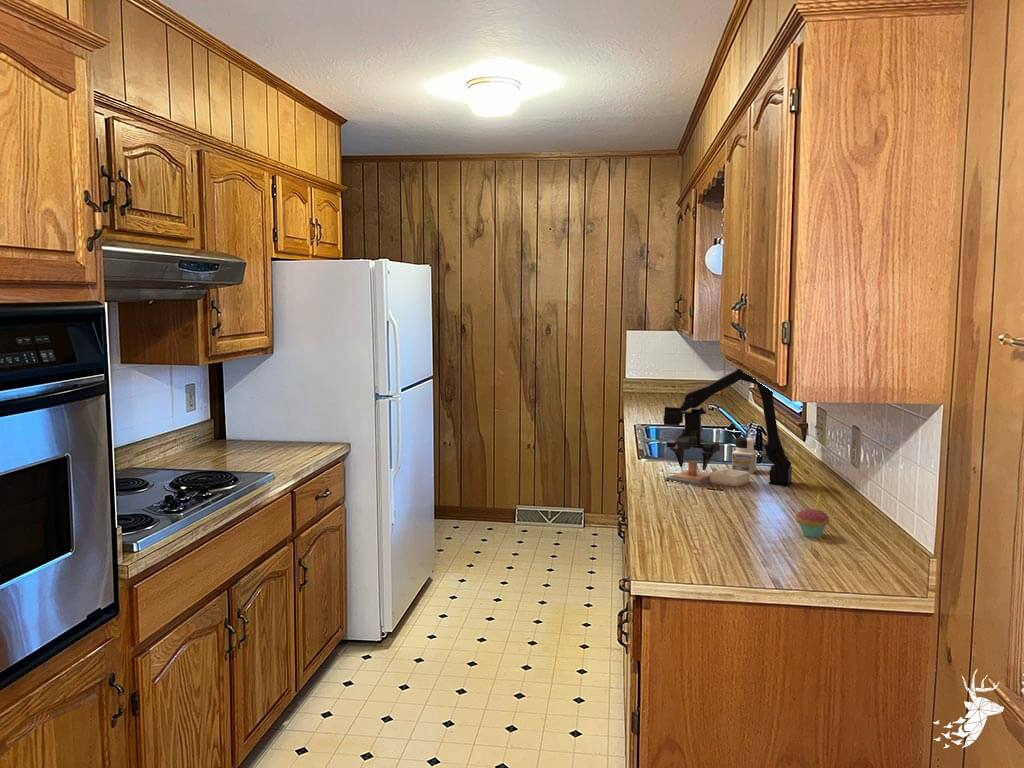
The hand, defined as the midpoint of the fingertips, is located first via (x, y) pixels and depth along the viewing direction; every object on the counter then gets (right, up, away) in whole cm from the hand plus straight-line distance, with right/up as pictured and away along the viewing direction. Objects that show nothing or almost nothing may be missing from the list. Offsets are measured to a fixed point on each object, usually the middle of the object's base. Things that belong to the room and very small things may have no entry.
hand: (692, 468), depth 275 cm
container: (+23, -3, +14) cm, 27 cm away
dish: (+12, -4, -4) cm, 14 cm away
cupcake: (+17, -11, -67) cm, 70 cm away
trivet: (0, -4, 0) cm, 4 cm away
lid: (0, -3, 0) cm, 3 cm away
